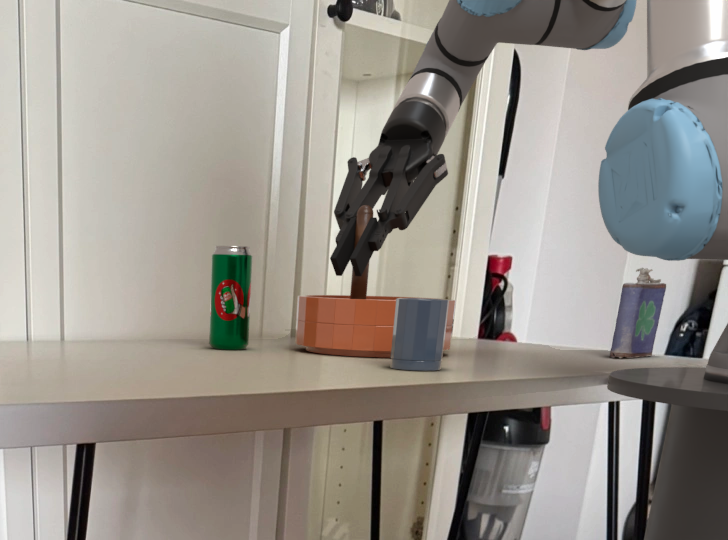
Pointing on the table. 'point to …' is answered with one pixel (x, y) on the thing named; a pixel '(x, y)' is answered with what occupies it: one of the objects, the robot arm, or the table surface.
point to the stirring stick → (361, 222)
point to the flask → (638, 316)
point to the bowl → (352, 324)
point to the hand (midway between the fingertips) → (345, 267)
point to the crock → (419, 334)
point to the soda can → (230, 297)
